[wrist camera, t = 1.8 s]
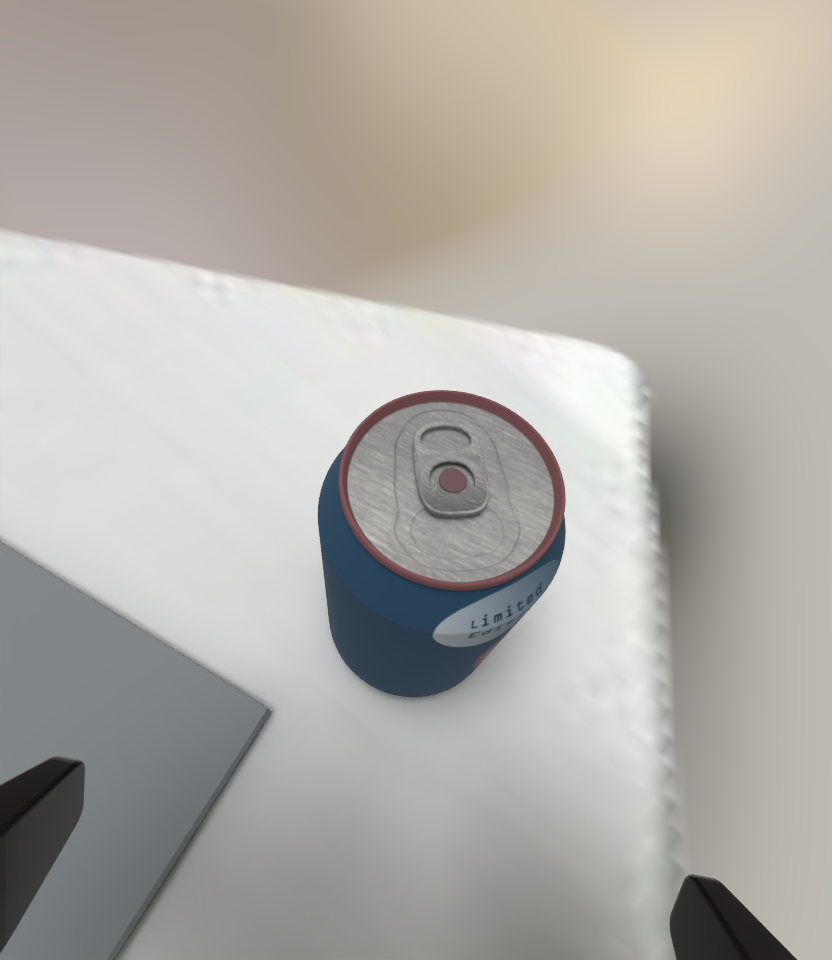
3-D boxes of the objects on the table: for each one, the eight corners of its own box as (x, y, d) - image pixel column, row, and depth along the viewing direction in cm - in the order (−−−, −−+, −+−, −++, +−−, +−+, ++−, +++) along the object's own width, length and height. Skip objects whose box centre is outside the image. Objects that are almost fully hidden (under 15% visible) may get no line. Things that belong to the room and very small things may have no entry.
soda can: (499, 694, 22) (625, 602, 12) (331, 710, 21) (313, 624, 11) (473, 542, 26) (554, 371, 16) (328, 550, 25) (312, 372, 15)
